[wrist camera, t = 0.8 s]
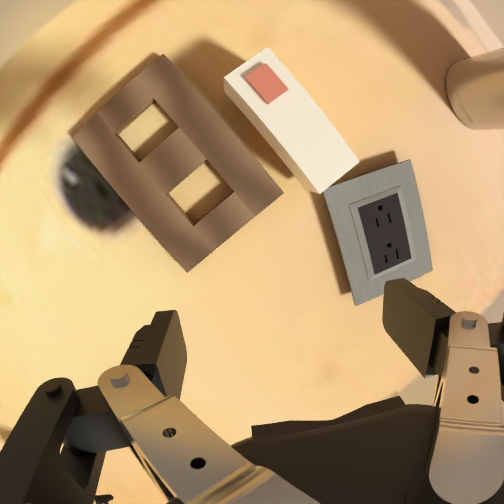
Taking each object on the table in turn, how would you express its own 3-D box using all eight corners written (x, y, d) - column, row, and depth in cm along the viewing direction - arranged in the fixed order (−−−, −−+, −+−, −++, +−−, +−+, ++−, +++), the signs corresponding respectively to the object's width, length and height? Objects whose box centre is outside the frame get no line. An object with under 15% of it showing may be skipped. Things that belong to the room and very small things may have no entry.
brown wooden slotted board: (166, 58, 27) (163, 53, 25) (281, 191, 31) (283, 193, 30) (78, 138, 28) (72, 137, 27) (188, 268, 33) (187, 272, 31)
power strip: (259, 69, 28) (268, 45, 21) (334, 162, 31) (362, 161, 24) (224, 94, 28) (223, 75, 22) (301, 188, 31) (321, 194, 25)
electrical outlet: (316, 188, 32) (323, 189, 30) (400, 159, 32) (411, 159, 30) (349, 298, 36) (356, 307, 33) (423, 265, 35) (434, 270, 33)
